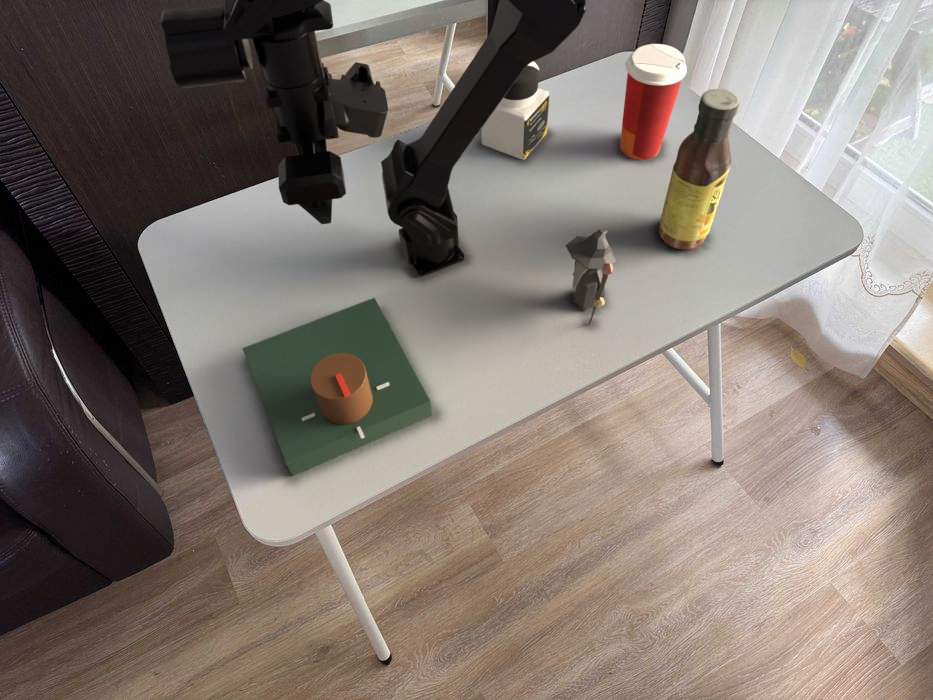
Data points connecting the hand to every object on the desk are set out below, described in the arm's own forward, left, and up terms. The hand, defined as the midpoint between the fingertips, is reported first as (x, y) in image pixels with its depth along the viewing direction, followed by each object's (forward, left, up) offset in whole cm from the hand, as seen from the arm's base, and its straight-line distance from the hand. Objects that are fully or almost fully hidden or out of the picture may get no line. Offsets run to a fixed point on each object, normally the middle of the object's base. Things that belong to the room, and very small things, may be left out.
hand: (324, 194), depth 81 cm
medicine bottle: (-31, -12, -12) cm, 36 cm away
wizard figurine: (-24, +20, -12) cm, 34 cm away
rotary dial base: (+7, +17, -12) cm, 22 cm away
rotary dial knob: (+7, +21, -9) cm, 24 cm away
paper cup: (-46, -2, -12) cm, 48 cm away
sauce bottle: (-41, +15, -12) cm, 46 cm away
